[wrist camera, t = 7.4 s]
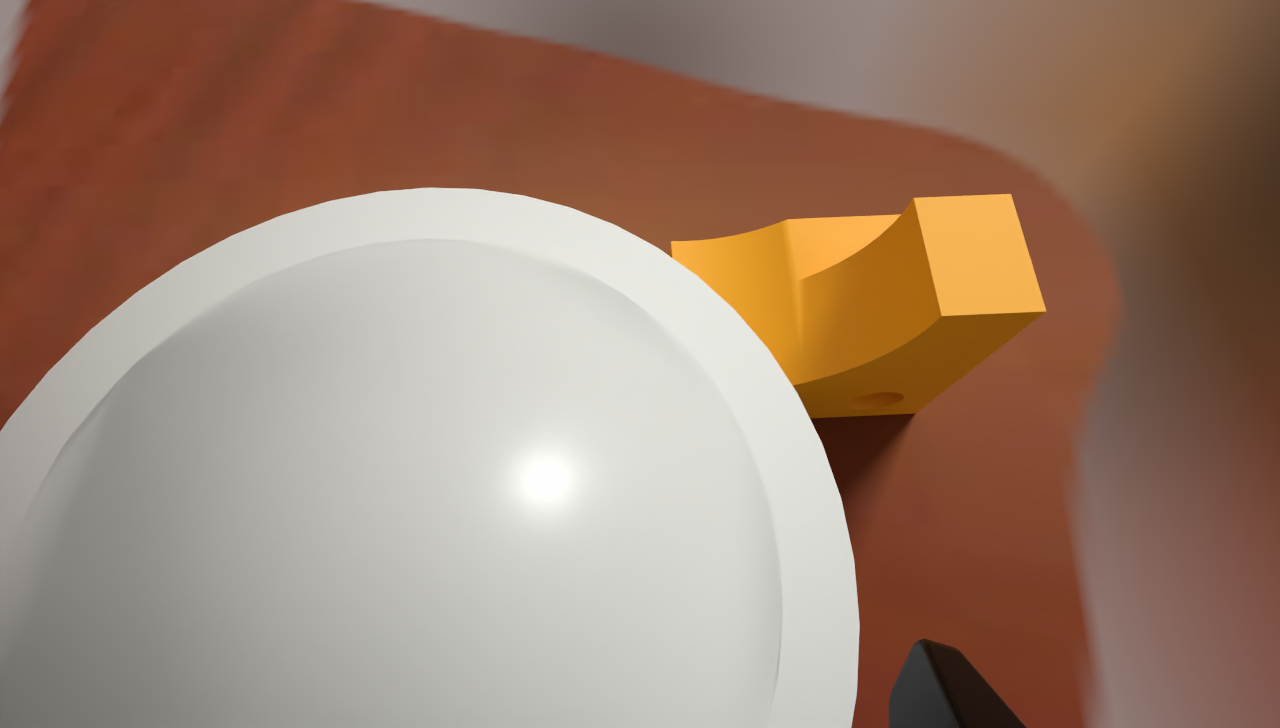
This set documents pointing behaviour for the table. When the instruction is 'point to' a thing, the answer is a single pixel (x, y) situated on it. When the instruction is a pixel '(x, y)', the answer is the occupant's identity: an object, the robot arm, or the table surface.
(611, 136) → the table surface
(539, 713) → the white domed pillar
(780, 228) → the pipe clamp
